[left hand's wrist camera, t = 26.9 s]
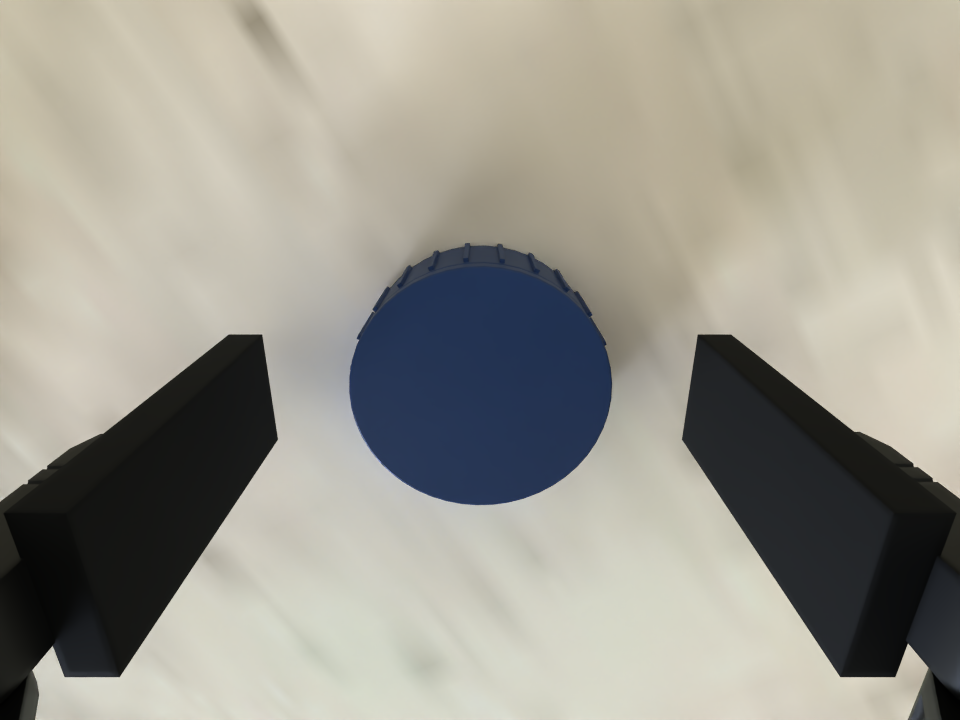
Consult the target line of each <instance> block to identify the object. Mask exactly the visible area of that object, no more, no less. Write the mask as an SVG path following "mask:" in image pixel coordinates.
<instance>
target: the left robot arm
mask: <svg viewBox="0 0 960 720" xmlns="http://www.w3.org/2000/svg"><path fill="white" fill-rule="evenodd" d="M277 440H278V437H277V430H276V424H275V417H274V410H273V404H272V397H271V390H270V384H269V377H268V370H267V364H266V357H265V350H264V344H263V337H262V335H228V336H227V337H225V338H224V339H223V340H222V341H220V342H219V343H218V344H216V345H215V346H214V347H213V348H211V349H210V350H209V351H208V352H206V353H205V354H204V355H203V356H201V357H200V358H199V359H198V360H196V361H195V362H194V363H192V364H191V365H190V366H189V367H187V368H186V369H185V370H184V371H182V372H181V373H180V374H179V375H177V376H176V377H175V378H173V379H172V380H171V381H170V382H168V383H167V384H166V385H165V386H163V387H162V388H161V389H160V390H158V391H157V392H156V393H154V394H153V395H152V396H151V397H149V398H148V399H147V400H146V401H144V402H143V403H142V404H141V405H139V406H138V407H137V408H136V409H134V410H133V411H132V412H130V413H129V414H128V415H127V416H125V417H124V418H123V419H122V420H120V421H119V422H118V423H117V424H115V425H114V426H113V427H111V428H110V429H109V430H108V431H106V432H105V433H104V434H100V435H97V436H95V437H93V438H91V439H89V440H87V441H85V442H83V443H81V444H79V445H77V446H75V447H72V448H70V449H69V450H68V451H66V452H65V453H64V454H62V455H61V456H60V457H58V458H57V459H56V460H54V461H53V462H52V463H51V464H49V465H48V466H47V469H43V470H41V471H40V472H39V473H37V474H36V475H35V476H33V477H32V478H31V479H30V480H28V484H23V485H22V486H20V487H19V488H18V489H16V490H15V491H14V492H12V493H11V494H10V495H9V496H7V497H6V498H5V499H3V500H2V501H1V502H0V720H35V716H36V710H37V704H38V698H39V691H38V685H37V681H36V678H35V676H34V673H33V671H32V670H33V668H34V667H35V666H36V665H37V664H38V662H39V661H40V660H41V659H42V658H43V656H44V655H45V654H46V653H47V652H48V651H49V649H50V648H51V647H52V646H53V647H54V650H55V652H56V655H57V658H58V660H59V663H60V666H61V668H62V671H63V674H64V676H65V677H120V676H121V674H122V673H123V671H124V670H125V668H126V667H127V665H128V664H129V662H130V661H131V659H132V658H133V656H134V655H135V653H136V652H137V650H138V649H139V647H140V646H141V644H142V643H143V641H144V640H145V638H146V637H147V635H148V634H149V632H150V631H151V629H152V628H153V626H154V625H155V623H156V622H157V620H158V619H159V617H160V616H161V614H162V613H163V611H164V610H165V608H166V607H167V605H168V604H169V602H170V601H171V599H172V598H173V596H174V595H175V593H176V592H177V590H178V589H179V587H180V586H181V584H182V583H183V581H184V580H185V578H186V577H187V575H188V574H189V572H190V571H191V569H192V568H193V566H194V565H195V563H196V562H197V560H198V559H199V557H200V556H201V554H202V553H203V551H204V550H205V548H206V547H207V545H208V544H209V542H210V541H211V539H212V538H213V536H214V535H215V533H216V532H217V530H218V529H219V527H220V526H221V524H222V523H223V521H224V520H225V518H226V517H227V515H228V514H229V512H230V511H231V509H232V508H233V506H234V505H235V503H236V502H237V500H238V499H239V497H240V496H241V494H242V493H243V491H244V490H245V488H246V487H247V485H248V484H249V482H250V481H251V479H252V478H253V476H254V475H255V473H256V472H257V470H258V469H259V467H260V466H261V464H262V463H263V461H264V460H265V458H266V457H267V455H268V454H269V452H270V451H271V449H272V448H273V446H274V445H275V443H276V442H277ZM682 440H683V442H684V443H685V445H686V446H687V448H688V449H689V451H690V452H691V454H692V455H693V457H694V458H695V460H696V461H697V463H698V464H699V466H700V467H701V469H702V470H703V472H704V473H705V475H706V476H707V478H708V479H709V481H710V482H711V484H712V485H713V487H714V488H715V490H716V491H717V493H718V494H719V496H720V497H721V499H722V500H723V502H724V503H725V505H726V506H727V508H728V509H729V511H730V512H731V514H732V515H733V517H734V518H735V520H736V521H737V523H738V524H739V526H740V527H741V529H742V530H743V532H744V533H745V535H746V536H747V538H748V539H749V541H750V542H751V544H752V545H753V547H754V548H755V550H756V551H757V553H758V554H759V556H760V557H761V559H762V560H763V562H764V563H765V565H766V566H767V568H768V569H769V571H770V572H771V574H772V575H773V577H774V578H775V580H776V581H777V583H778V584H779V586H780V587H781V589H782V590H783V592H784V593H785V595H786V596H787V598H788V599H789V601H790V602H791V604H792V605H793V607H794V608H795V610H796V611H797V613H798V614H799V616H800V617H801V619H802V620H803V622H804V623H805V625H806V626H807V628H808V629H809V631H810V632H811V634H812V635H813V637H814V638H815V640H816V641H817V643H818V644H819V646H820V647H821V649H822V650H823V652H824V653H825V655H826V656H827V658H828V659H829V661H830V662H831V664H832V665H833V667H834V668H835V670H836V671H837V673H838V674H839V676H840V677H895V676H896V674H897V671H898V668H899V666H900V663H901V660H902V658H903V655H904V652H905V650H906V647H907V644H909V645H910V646H911V647H912V648H913V650H914V651H915V652H916V653H917V654H918V656H919V657H920V658H921V659H922V660H923V661H924V663H925V664H926V665H927V666H928V667H929V668H928V671H927V673H926V676H925V678H924V681H923V683H922V686H921V688H920V691H919V693H918V696H917V698H916V701H915V703H914V706H913V708H912V711H911V713H910V716H909V718H908V720H960V499H959V498H958V497H957V496H955V495H954V494H953V493H951V492H950V491H949V490H947V489H946V488H945V487H943V486H942V485H941V484H940V483H938V482H933V478H932V477H930V476H929V475H928V474H926V473H925V472H924V471H922V470H921V469H920V468H918V467H914V466H913V463H912V462H910V461H909V460H908V459H906V458H905V457H904V456H902V455H901V454H900V453H898V452H897V451H896V450H895V449H893V448H892V447H891V446H888V445H886V444H884V443H882V442H880V441H878V440H876V439H874V438H872V437H869V436H867V435H865V434H863V433H861V432H854V431H852V430H851V429H850V428H849V427H847V426H846V425H845V424H843V423H842V422H841V421H840V420H838V419H837V418H836V417H835V416H833V415H832V414H831V413H830V412H828V411H827V410H826V409H824V408H823V407H822V406H821V405H819V404H818V403H817V402H816V401H814V400H813V399H812V398H811V397H809V396H808V395H807V394H806V393H804V392H803V391H802V390H800V389H799V388H798V387H797V386H795V385H794V384H793V383H792V382H790V381H789V380H788V379H787V378H785V377H784V376H783V375H781V374H780V373H779V372H778V371H776V370H775V369H774V368H773V367H771V366H770V365H769V364H768V363H766V362H765V361H764V360H762V359H761V358H760V357H759V356H757V355H756V354H755V353H754V352H752V351H751V350H750V349H749V348H747V347H746V346H745V345H744V344H742V343H741V342H740V341H738V340H737V339H736V338H735V337H733V336H732V335H698V337H697V344H696V350H695V357H694V364H693V370H692V377H691V384H690V390H689V397H688V404H687V410H686V417H685V424H684V430H683V437H682Z"/></svg>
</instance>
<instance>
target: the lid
mask: <svg viewBox="0 0 960 720" xmlns="http://www.w3.org/2000/svg"><path fill="white" fill-rule="evenodd" d="M373 311H375V313H373V312H372V313H371V315H370V317H369V318H368V320H367V322H366V323H365V325H364V326H363V328H362V330H361V331H360V333H359V335H358V337H357V339H358V340H359V342H358V344H357V346H356V349H355V353H354V356H353V359H352V364H351V368H350V370H351V371H350V386H349V393H350V400H351V407H352V411H353V414H354V418H355V421H356V424H357V426H358V429H359V431H360V433H361V435H362V438H363V439H364V441H365V442H366V444H367V446H368V447H369V449H370V451H371V452H372V453H373V454H374V455H375V457H376V458H377V459H378V460H379V462H380V463H381V464H382V465H383V466H384V467H385V468H386V469H388V470H389V471H390V472H391V473H392V474H393V475H394V476H396V477H397V478H398V479H400V480H401V481H402V482H404V483H406V484H407V485H409V486H411V487H413V488H414V489H416V490H418V491H420V492H423V493H425V494H427V495H429V496H432V497H435V498H438V499H442V500H445V501H449V502H455V503H460V504H470V505H493V504H500V503H507V502H512V501H516V500H520V499H524V498H526V497H529V496H532V495H534V494H537V493H539V492H541V491H543V490H545V489H547V488H549V487H551V486H553V485H554V484H556V483H557V482H559V481H560V480H561V479H563V478H564V477H566V476H567V475H568V474H569V473H570V472H572V471H573V470H574V469H575V468H576V467H577V466H578V465H579V464H580V463H581V462H582V461H583V459H584V458H585V457H586V456H587V455H588V453H589V452H590V451H591V449H592V448H593V446H594V445H595V443H596V442H597V440H598V438H599V436H600V434H601V432H602V430H603V427H604V425H605V422H606V419H607V416H608V412H609V407H610V402H611V393H612V378H611V367H610V363H609V359H608V355H607V351H606V349H605V345H606V342H605V340H604V338H603V336H602V335H601V333H600V331H599V330H598V328H597V326H596V325H595V323H594V322H593V320H592V318H589V317H591V316H592V313H591V312H590V310H589V308H588V307H587V305H586V304H585V302H584V300H583V299H582V297H581V296H580V294H579V293H578V291H577V292H575V293H574V292H573V290H572V289H571V288H570V287H569V285H568V284H567V283H566V282H565V280H564V278H563V277H562V275H561V273H560V271H558V270H557V269H556V270H555V271H553V270H552V269H550V268H549V267H548V266H546V265H545V264H543V263H542V262H540V261H538V260H536V259H535V258H534V255H533V254H531V253H529V254H528V255H525V254H523V253H520V252H517V251H514V250H510V249H506V248H503V246H502V244H498V246H497V247H493V246H470V243H466V244H465V247H461V248H455V249H451V250H448V251H444V252H441V253H439V251H438V250H437V251H434V253H433V255H432V256H431V257H429V258H427V259H425V260H423V261H421V262H420V263H418V264H417V265H415V266H414V267H411V266H410V265H409V266H408V267H407V268H406V269H405V271H404V273H403V275H402V276H401V277H400V278H399V279H398V280H397V281H396V282H395V283H394V285H393V286H392V287H391V288H389V287H388V286H387V287H386V289H385V290H384V292H383V293H382V295H381V297H380V298H379V300H378V302H377V303H376V305H375V306H374V308H373Z"/></svg>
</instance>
